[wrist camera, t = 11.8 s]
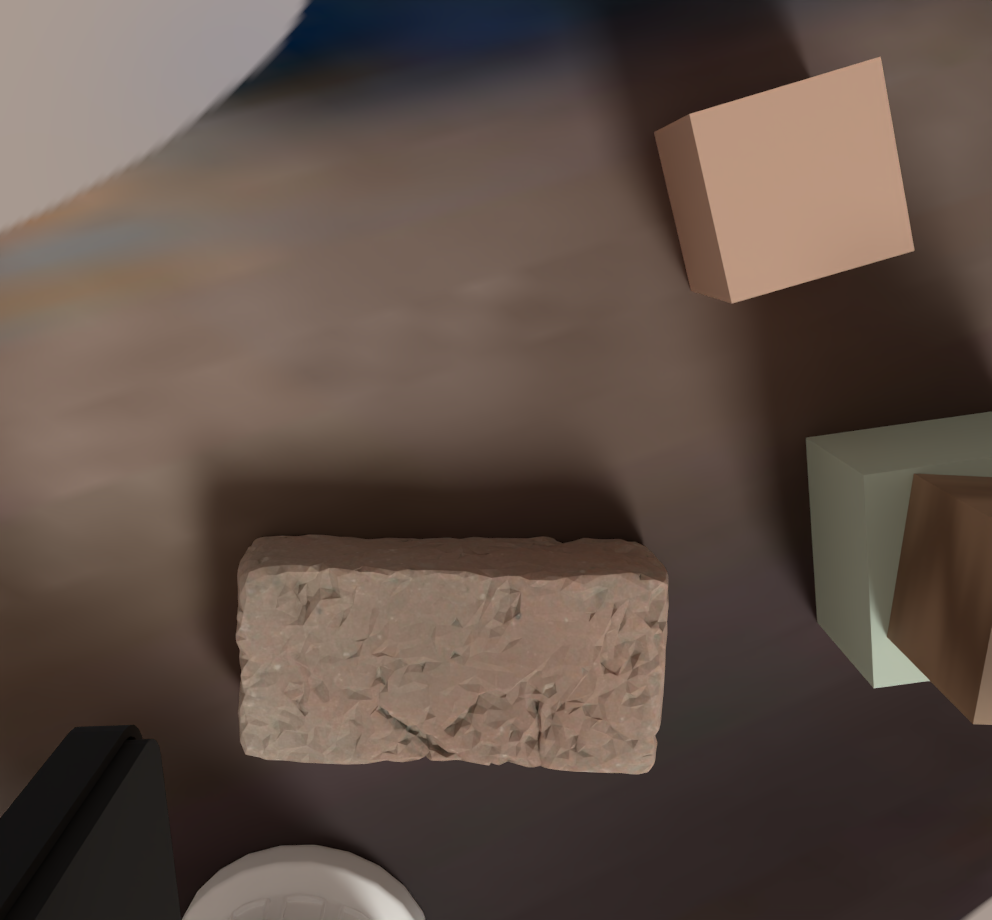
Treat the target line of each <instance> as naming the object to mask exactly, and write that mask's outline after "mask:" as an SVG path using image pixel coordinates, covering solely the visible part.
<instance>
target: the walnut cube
mask: <svg viewBox="0 0 992 920" xmlns="http://www.w3.org/2000/svg"><path fill="white" fill-rule="evenodd" d="M887 638H888V639H889V640H890V641H891V642H892V643H893V644H894V645H895V646H896V647H897V648H898V649H899V650H900V651H901V652H902V653H903V654H904V655H905V656H906V657H907V658H908V659H909V660H910V661H911V662H912V663H913V664H914V665H915V666H916V667H917V668H918V669H919V670H920V671H921V672H922V673H923V674H924V675H925V676H926V677H927V678H928V679H929V680H930V681H931V682H932V683H933V684H934V685H935V686H936V687H937V688H938V689H939V690H940V691H941V692H942V693H943V694H944V695H945V696H946V697H947V698H948V699H949V700H950V701H951V702H952V703H953V704H954V705H955V706H956V707H957V708H958V709H959V710H960V711H961V712H962V713H963V714H964V715H965V716H966V717H967V718H968V719H969V720H970V722H971V723H972V724H985V725H992V477H980V476H958V475H936V474H914V475H913V481H912V487H911V493H910V499H909V505H908V511H907V517H906V523H905V530H904V536H903V542H902V548H901V554H900V560H899V566H898V572H897V578H896V584H895V590H894V597H893V603H892V609H891V615H890V621H889V627H888V633H887Z"/></svg>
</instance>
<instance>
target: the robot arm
mask: <svg viewBox="0 0 992 920" xmlns="http://www.w3.org/2000/svg"><path fill="white" fill-rule="evenodd" d="M0 920H181V914H180V906H179V898H178V890H177V882H176V874H175V866H174V858H173V850H172V841H171V833H170V825H169V817H168V809H167V801H166V793H165V785H164V777H163V769H162V761H161V753H160V748H159V745H158V743H157V741H155V740H154V739H142V735H141V733H140V731H139V729H138V728H137V727H136V726H135V725H119V726H88V727H75V728H74V729H73V730H72V731H70V732H69V733H68V735H67V736H66V737H65V738H64V740H63V741H62V742H61V743H60V745H59V746H58V747H57V748H56V750H55V751H54V752H53V753H52V755H51V756H50V757H49V758H48V760H47V761H46V762H45V763H44V765H43V766H42V767H41V768H40V770H39V771H38V772H37V773H36V775H35V776H34V777H33V778H32V780H31V781H30V782H29V783H28V785H27V786H26V787H25V788H24V790H23V791H22V792H21V793H20V795H19V796H18V797H17V798H16V800H15V801H14V802H13V803H12V804H11V806H10V807H9V808H8V809H7V811H6V812H5V813H4V814H3V816H2V817H1V818H0Z"/></svg>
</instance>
